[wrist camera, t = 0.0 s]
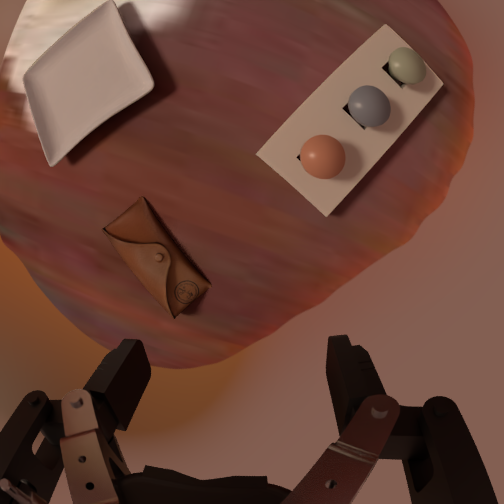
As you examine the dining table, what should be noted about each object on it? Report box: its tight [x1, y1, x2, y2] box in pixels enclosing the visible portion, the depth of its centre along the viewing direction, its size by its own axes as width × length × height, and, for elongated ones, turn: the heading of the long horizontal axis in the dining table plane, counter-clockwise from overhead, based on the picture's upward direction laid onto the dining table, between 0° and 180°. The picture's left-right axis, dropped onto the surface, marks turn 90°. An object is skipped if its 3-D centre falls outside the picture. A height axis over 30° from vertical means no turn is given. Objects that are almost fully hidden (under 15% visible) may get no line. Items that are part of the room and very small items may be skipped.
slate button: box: [348, 85, 391, 127], centre depth 30 cm, size 5×5×4 cm
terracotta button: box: [300, 135, 346, 179], centre depth 32 cm, size 5×5×4 cm
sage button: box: [388, 47, 426, 85], centre depth 28 cm, size 5×5×4 cm
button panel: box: [256, 24, 444, 217], centre depth 33 cm, size 28×12×2 cm, turn 139°
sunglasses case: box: [102, 197, 212, 319], centre depth 41 cm, size 18×7×7 cm
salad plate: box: [23, 0, 154, 167], centre depth 32 cm, size 21×21×3 cm
